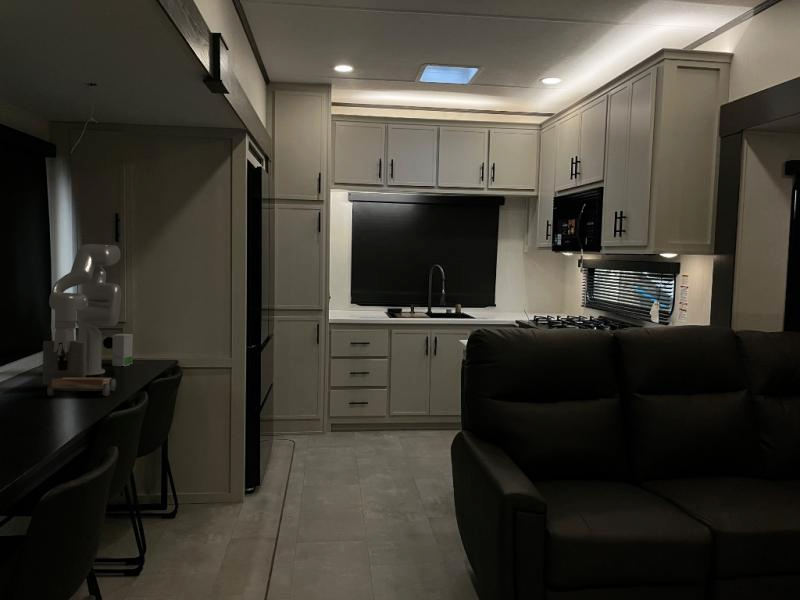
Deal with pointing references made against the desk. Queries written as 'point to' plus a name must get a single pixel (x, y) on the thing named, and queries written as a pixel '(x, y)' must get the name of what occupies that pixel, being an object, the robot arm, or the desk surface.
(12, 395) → the desk surface
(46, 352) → the grey upright notched slab
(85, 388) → the dolly
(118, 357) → the skincare box
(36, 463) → the desk surface
